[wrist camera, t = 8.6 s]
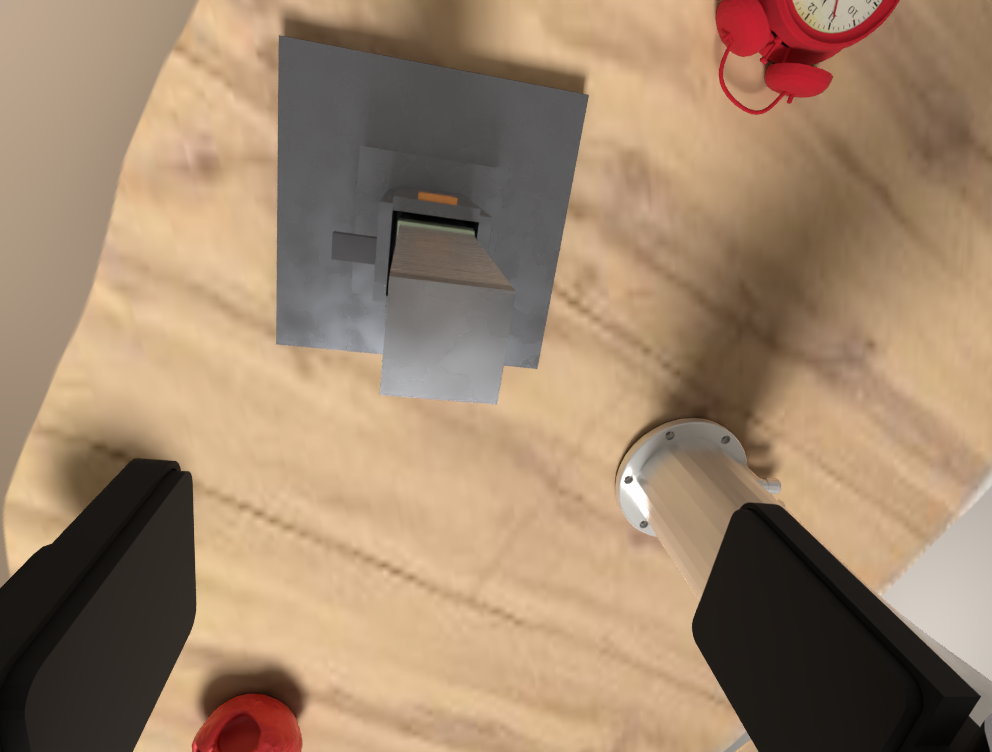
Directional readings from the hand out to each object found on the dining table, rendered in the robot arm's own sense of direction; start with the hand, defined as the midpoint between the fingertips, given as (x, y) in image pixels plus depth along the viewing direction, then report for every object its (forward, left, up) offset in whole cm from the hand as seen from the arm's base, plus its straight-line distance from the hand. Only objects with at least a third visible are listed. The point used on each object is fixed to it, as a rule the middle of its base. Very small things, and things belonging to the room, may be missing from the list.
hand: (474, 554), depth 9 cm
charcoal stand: (0, -2, -34) cm, 34 cm away
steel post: (0, -2, -23) cm, 23 cm away
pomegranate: (+12, +49, -35) cm, 61 cm away
